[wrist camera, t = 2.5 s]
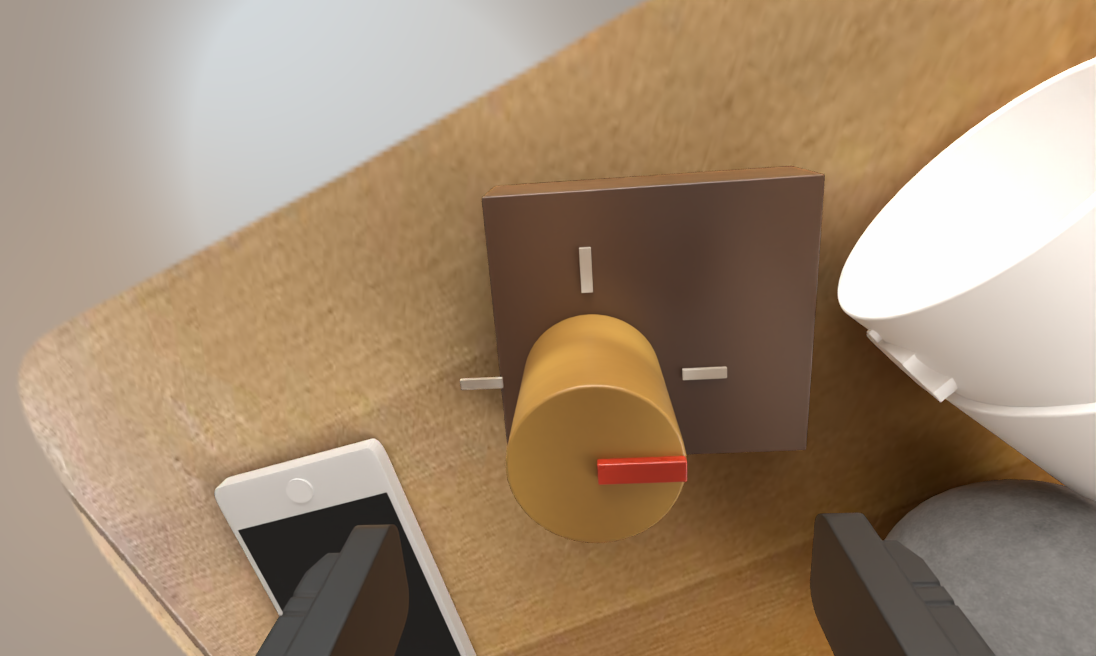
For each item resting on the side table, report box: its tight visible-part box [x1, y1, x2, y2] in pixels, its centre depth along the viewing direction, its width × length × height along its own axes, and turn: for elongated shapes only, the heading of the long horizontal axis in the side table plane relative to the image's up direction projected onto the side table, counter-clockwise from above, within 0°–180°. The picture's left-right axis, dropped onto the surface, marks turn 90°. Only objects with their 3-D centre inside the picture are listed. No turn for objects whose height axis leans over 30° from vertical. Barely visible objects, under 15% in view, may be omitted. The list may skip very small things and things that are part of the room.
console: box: [460, 166, 825, 454], centre depth 22 cm, size 11×10×3 cm
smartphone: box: [214, 439, 476, 656], centre depth 27 cm, size 7×15×1 cm, turn 18°
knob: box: [505, 314, 687, 543], centre depth 18 cm, size 4×4×6 cm
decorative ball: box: [885, 479, 1096, 656], centre depth 21 cm, size 10×10×10 cm
